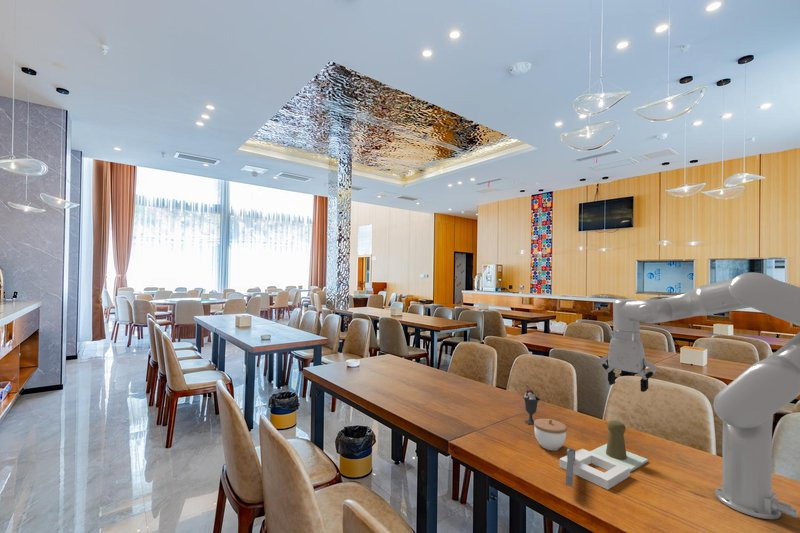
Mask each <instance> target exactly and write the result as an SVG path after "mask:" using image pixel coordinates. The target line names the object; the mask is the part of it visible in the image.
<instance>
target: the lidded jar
mask: <svg viewBox="0 0 800 533" xmlns="http://www.w3.org/2000/svg"><path fill="white" fill-rule="evenodd" d="M533 421H534V425H533V426H534V430H533V431H534V436H535V438H536V440H537V442H538V443H539V445H540V447H542V448H543V449H545V450H548V451H559V450H560V448H562V447H563V445H565V443H566V439H567V430H568V427H567V425H566V424H565V423H563V422H561V421H558V420H555V419H552V418H537V419H535V420H533Z"/></svg>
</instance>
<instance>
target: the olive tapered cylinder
mask: <svg viewBox="0 0 800 533" xmlns="http://www.w3.org/2000/svg"><path fill="white" fill-rule="evenodd" d="M606 426H607V429H608V431H609V432H608V436H607V437H608V438H607V442H606V444H607V448H606V454H607V455H608V456H609V457H612V458H614V459H619V460H625V459H627V455H626V451H627V450H626V448H627V447H626V443H625V436H624V434H625V432H626V429H627V428H626V425H625V424H624V423H623V422H620V420H619V421H618V420H609V421H608V422H607V425H606Z"/></svg>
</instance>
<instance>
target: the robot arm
mask: <svg viewBox="0 0 800 533" xmlns="http://www.w3.org/2000/svg"><path fill="white" fill-rule="evenodd" d="M749 308H752V309H754V310H755V311H756V310H757V311H759V312H762V313H764V314H767V315H770V316H771V317H774V318H778V319H779V320H782V321H785V322H788V323H789V324H792V325H795V326H798V327H800V286H797V285H794V284H790V283H789V282H788V283H787V282H784V281H781V280H779V279H775V278H774V277H772V276H771V275H768V274H767V273H766V274H765V273H761V272H753V271H752V272H751V271H750V272H744V273H741V274H739V275H737V276H735V277H734V278H729V279H726V280H722V281H717V282H713V283H708V284H703V285H698V286H696V287H694V288H692V289H691V290H690V291H688V292H685V293H682V294H678V295H674V296H673V295H672V296H670V297H665V298H659V299H642V300H641V299H640V300H636V299H615V300H614V301H613V303H612V312H613V313H612V319H613V320H612V322H613V325H612V326H613V329H612V330H611V331H609V332H608V334H609V335H610V336H611V337H612V338H611V339H610V341H609V348H608V355H605V356H602V357H600V358H599V362H600V364H601V366H602V368H604V370H605V371H606V373H607V381H608V385H609V386H613V385H615V384H616V373H615V370H618V371H624V372H628V373H636V374H637V373H638V375H639V376H640V377H641V379H640V391H641V392H642V393H645V392H647V390H649V379H650V378H652V377H653V376H654V375H655V373H656V372H657V370H658V368H659V367H658V366H657V365H655V364H653V363H651V362H650V361H648V360H647V359H646V353H645V349H644V345H643V341H641V339H640V338H641V332H640V331H641V330H640V329H641V328H640V323H644V324H659V323H665V322H667V323H668V322H671V321H672V322H673V321H677V320H683V319H687V318H693V317H699V316H710V315H715V314H720V313H725V312H731V311H736V310H737V311H738V310H742V309H749ZM646 368H649V371H648V372H647V371H646ZM799 396H800V331H798V332H797V334H795V335H794V336H793V337H792V338H790V339H789V340H788V341H787V342H785V344H784V345H782V346H781V347H780V348H779V349H778V350H776V351H775V352H774V353H772V354H770V356H768V357H766V358H764V359H762V360H759V361H757V362H755V363H753V364H752V365H751V366H749V367H748V368H746V369H745V370H744V371H743V372H742V373H741V374H739V376H738V377H736V378H735V379H734V380H733V381H731V382H730V383H728V385H726V386H725V387H724V388H722V389H721V390H720V391H719V392H718V393H717V394H716V395H715V397H714V399H713V409H714V412H715V414H716V415H717V417H719V419H720V420H721V421H722V439H721V440H722V444H721V445H722V451H721V452H722V454H721V455H722V486H719V487H717V488H715V490H714V493H715V497H716V498H717V499H718V500H719V501H720V502H721V503H722V504H724V505H726V506H727V507H728V508H731V509H733V510H735V511H737V512H739V513H742V514H745V515H748V516H751V517H753V518H759V519H763V520H777V519H780V518H781V516H782V514H784V515H787V516H788V517H790V518H794V519H797V518H798V510H797V509H794V508H793V505H792V504H789V503H786V502H783V501H780V500H779V499H777V496H776V495H777V494H776V493H775V492H773V471H772V468H773V467H772V465H773V464H772V463H773V462H772V460H773V458H772V457H773V455H772V453H773V443H772V442H773V423H774V415H775V414H776V413H778V412H779V411H780V410H782V408H785V406H787V405H789V403H791V402H793V401H794V400H796V398H798V397H799Z"/></svg>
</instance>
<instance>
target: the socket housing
mask: <svg viewBox="0 0 800 533" xmlns="http://www.w3.org/2000/svg"><path fill="white" fill-rule="evenodd" d="M590 451H591V450H588V449H585V448H581V449H578V450H575V459H574V466H573V475H575V476H577V477H580V478H582V479H584V480H586V481H589V482H591V483H592V484H594V485H597V486H598V487H601V488H602V489H606V490H607V491H608V490H610V489H611V488H613V487H615V486H616V485H618V484H620V483H621V482H623V481H624V480H627V478H629V477H631V476H630V475H631V472H630V468H629V467H626V466H624V465H622V464H619V463H617V462H614V461H612V460H609V459H607V458H604V457H602V456H599V455H597V454H595V453H592V452H590ZM567 459H568V458H567V455H565V456H562V457H560V458H559V459H558V460H559V465H558V466H559V468H561V469H562V470H565V471H567ZM590 464H592V465H595V466H597V467H600V468H601V469H603V470H605V472H604V471H601V470H600V469H597V468H594V467H592V466H590Z"/></svg>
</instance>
